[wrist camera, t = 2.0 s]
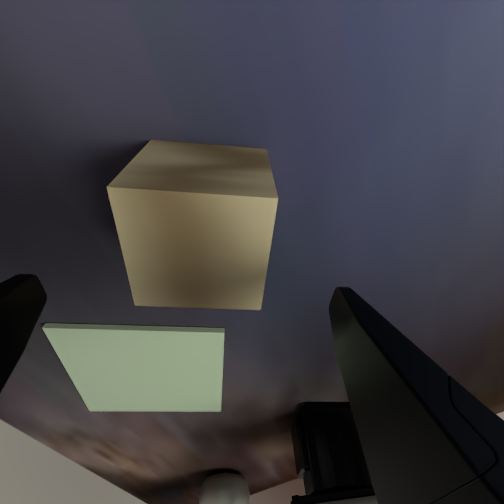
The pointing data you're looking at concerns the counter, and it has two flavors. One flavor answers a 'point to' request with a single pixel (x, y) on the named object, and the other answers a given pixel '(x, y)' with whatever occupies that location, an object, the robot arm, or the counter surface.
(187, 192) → the beech block
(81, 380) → the sage mat
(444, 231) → the counter surface
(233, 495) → the silver ribbed metal bottle
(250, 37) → the counter surface
